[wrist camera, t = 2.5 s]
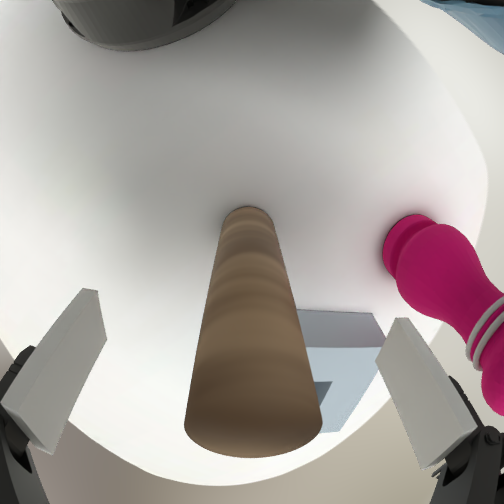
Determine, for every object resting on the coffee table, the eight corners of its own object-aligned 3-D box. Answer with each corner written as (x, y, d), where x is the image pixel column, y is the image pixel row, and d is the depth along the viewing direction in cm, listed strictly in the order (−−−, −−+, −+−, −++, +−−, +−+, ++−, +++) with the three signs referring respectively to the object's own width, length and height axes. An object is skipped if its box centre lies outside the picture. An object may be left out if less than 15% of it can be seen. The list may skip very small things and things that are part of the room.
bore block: (227, 303, 25) (223, 341, 20) (371, 313, 26) (390, 346, 21) (218, 397, 31) (216, 431, 26) (331, 399, 32) (339, 431, 27)
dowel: (224, 201, 21) (180, 387, 6) (277, 208, 21) (342, 394, 6) (219, 250, 23) (187, 452, 8) (269, 256, 23) (302, 457, 8)
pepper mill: (451, 231, 22) (599, 364, 4) (412, 291, 25) (522, 453, 7) (405, 193, 21) (605, 344, 3) (362, 263, 24) (488, 474, 5)
